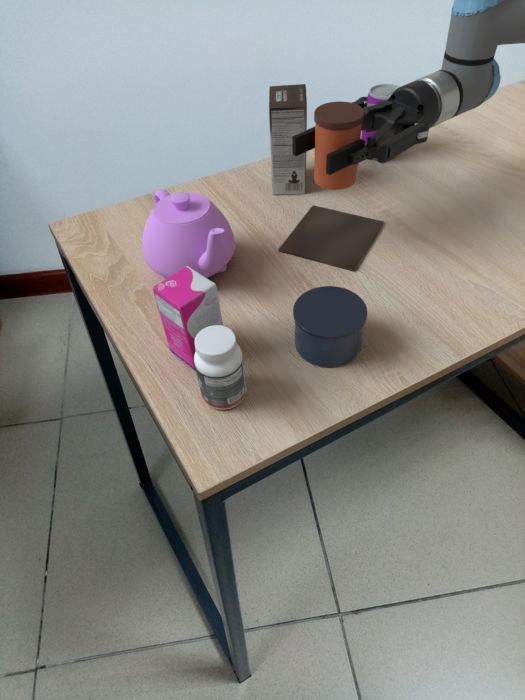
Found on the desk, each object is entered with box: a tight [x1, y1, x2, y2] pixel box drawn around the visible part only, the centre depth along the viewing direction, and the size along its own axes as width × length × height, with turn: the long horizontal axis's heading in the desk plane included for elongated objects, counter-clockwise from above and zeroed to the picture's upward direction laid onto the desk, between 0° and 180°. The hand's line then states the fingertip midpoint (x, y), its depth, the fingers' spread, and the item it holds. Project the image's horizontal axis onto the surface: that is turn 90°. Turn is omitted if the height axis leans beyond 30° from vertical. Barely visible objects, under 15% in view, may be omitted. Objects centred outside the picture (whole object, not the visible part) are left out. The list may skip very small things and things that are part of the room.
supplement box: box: [152, 266, 224, 372], centre depth 68 cm, size 6×6×12 cm
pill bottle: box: [194, 325, 247, 411], centre depth 63 cm, size 6×6×10 cm
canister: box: [313, 101, 364, 191], centre depth 76 cm, size 7×7×10 cm
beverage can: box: [361, 83, 400, 161], centre depth 102 cm, size 8×8×12 cm
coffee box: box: [268, 83, 308, 196], centre depth 94 cm, size 9×6×16 cm
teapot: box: [141, 189, 236, 279], centre depth 79 cm, size 20×14×12 cm
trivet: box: [277, 204, 384, 272], centre depth 88 cm, size 13×14×1 cm
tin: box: [292, 285, 368, 369], centre depth 69 cm, size 9×9×6 cm
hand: (310, 155), depth 74 cm, fingers closed on canister, 6 cm apart
